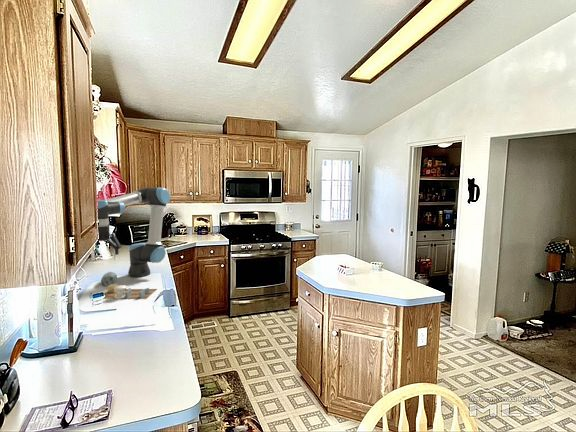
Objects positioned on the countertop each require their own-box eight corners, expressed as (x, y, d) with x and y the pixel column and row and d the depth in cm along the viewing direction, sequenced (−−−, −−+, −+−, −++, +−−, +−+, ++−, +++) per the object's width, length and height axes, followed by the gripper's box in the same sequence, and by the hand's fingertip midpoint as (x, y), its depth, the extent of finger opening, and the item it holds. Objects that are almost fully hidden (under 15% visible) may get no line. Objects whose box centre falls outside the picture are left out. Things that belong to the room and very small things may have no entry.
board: (112, 290, 223) (112, 288, 223) (157, 290, 223) (157, 288, 223) (96, 300, 205) (96, 298, 205) (146, 300, 205) (146, 299, 205)
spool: (115, 282, 228) (108, 269, 229) (102, 290, 227) (94, 276, 227) (122, 281, 242) (116, 268, 242) (109, 288, 240) (102, 276, 241)
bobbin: (117, 294, 212) (117, 285, 211) (129, 294, 212) (128, 285, 211) (112, 299, 205) (111, 289, 204) (123, 299, 205) (123, 289, 204)
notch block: (129, 293, 214) (129, 287, 214) (149, 293, 214) (149, 287, 214) (123, 298, 206) (122, 292, 206) (143, 298, 206) (143, 292, 206)
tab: (111, 290, 220) (111, 284, 220) (118, 290, 220) (117, 284, 220) (107, 292, 215) (107, 286, 215) (114, 292, 215) (113, 286, 215)
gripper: (77, 226, 207) (80, 261, 210) (120, 226, 208) (122, 261, 210) (84, 224, 214) (87, 258, 217) (125, 224, 215) (127, 258, 218)
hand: (104, 260), depth 214 cm, fingers open, 13 cm apart
